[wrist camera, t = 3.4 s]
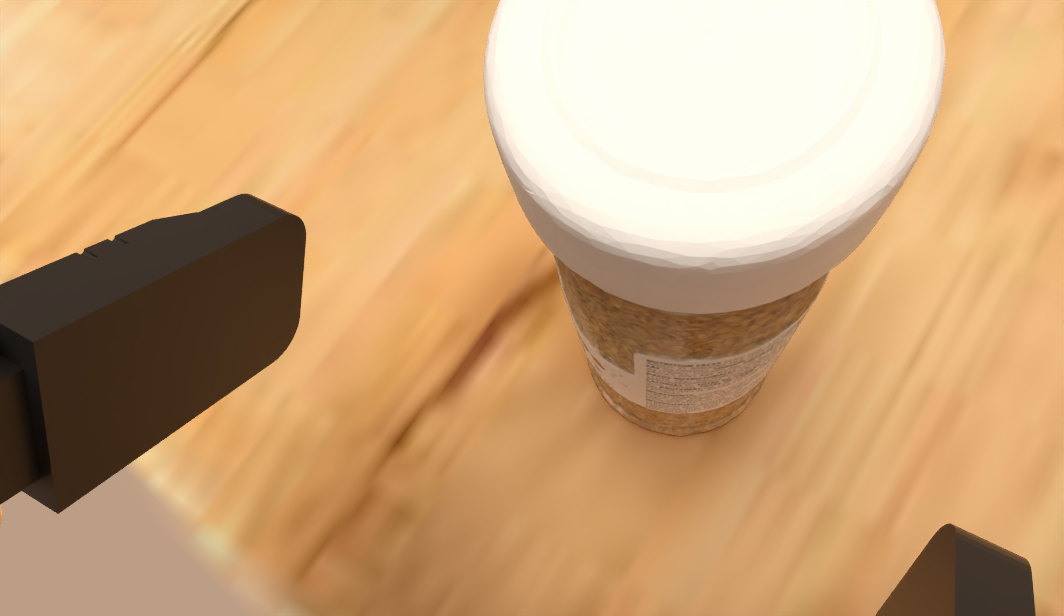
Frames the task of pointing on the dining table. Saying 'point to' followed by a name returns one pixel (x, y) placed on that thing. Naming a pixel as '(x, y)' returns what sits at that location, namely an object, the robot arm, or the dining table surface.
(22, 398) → the robot arm
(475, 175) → the dining table surface
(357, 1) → the dining table surface
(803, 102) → the sprinkles bottle
